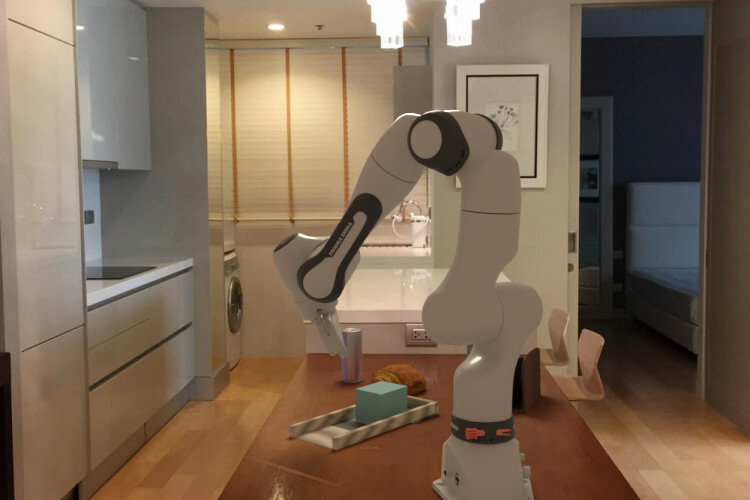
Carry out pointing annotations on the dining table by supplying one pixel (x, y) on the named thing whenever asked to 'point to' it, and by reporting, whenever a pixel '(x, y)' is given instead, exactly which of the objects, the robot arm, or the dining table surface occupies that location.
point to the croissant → (401, 377)
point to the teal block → (380, 401)
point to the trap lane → (358, 424)
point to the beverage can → (352, 355)
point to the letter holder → (526, 382)
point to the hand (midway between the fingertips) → (344, 355)
